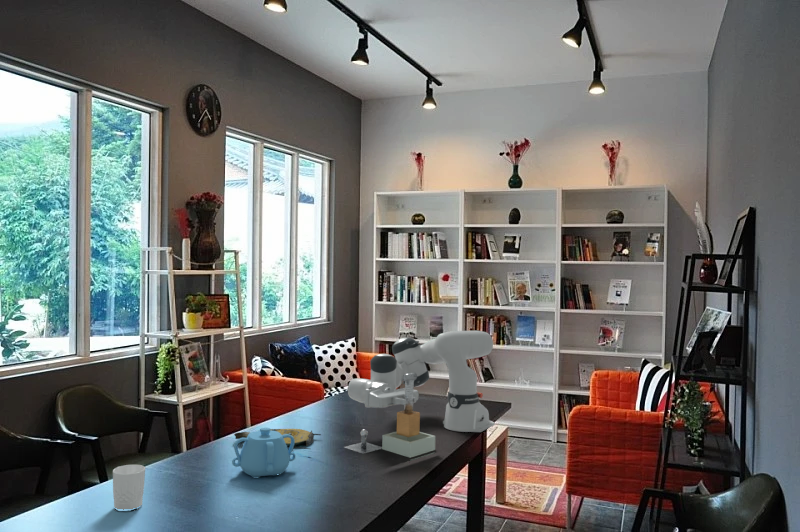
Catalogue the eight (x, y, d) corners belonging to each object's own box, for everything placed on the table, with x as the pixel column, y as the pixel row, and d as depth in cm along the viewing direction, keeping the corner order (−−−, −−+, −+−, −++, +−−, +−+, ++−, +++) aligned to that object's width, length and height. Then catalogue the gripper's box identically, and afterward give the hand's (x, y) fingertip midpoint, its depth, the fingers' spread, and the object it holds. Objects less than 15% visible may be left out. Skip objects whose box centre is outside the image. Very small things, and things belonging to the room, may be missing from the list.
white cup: (118, 501, 171) (119, 464, 171) (148, 501, 171) (149, 464, 171) (107, 513, 163) (108, 474, 163) (138, 513, 164) (139, 474, 164)
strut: (407, 431, 225) (409, 371, 225) (419, 434, 221) (421, 373, 221) (396, 434, 221) (398, 373, 221) (408, 437, 217) (410, 375, 217)
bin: (407, 445, 230) (407, 428, 230) (434, 453, 222) (435, 436, 222) (382, 452, 221) (382, 435, 221) (410, 461, 212) (410, 443, 212)
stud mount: (364, 445, 229) (364, 424, 229) (384, 451, 222) (384, 429, 222) (343, 450, 222) (343, 429, 222) (363, 457, 215) (363, 434, 215)
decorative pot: (225, 474, 194) (226, 430, 194) (261, 460, 208) (261, 419, 208) (267, 485, 186) (268, 438, 186) (301, 469, 201) (302, 426, 200)
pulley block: (243, 419, 236) (321, 425, 231) (243, 434, 237) (322, 440, 232) (226, 435, 222) (309, 442, 217) (227, 451, 223) (310, 458, 218)
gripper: (401, 399, 237) (429, 406, 228) (361, 407, 222) (390, 415, 213) (402, 382, 237) (430, 388, 228) (362, 389, 222) (390, 396, 213)
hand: (410, 401), depth 220 cm, fingers closed on strut, 3 cm apart
